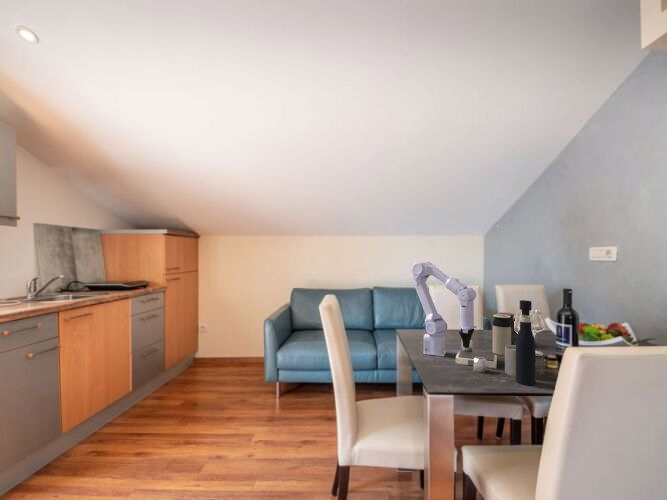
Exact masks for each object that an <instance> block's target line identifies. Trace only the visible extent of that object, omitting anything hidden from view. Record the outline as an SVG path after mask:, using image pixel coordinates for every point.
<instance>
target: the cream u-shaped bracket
mask: <svg viewBox="0 0 667 500" xmlns="http://www.w3.org/2000/svg"><path fill="white" fill-rule="evenodd" d="M474 357H483V358H486V368H488V369H497V361H498V360H497V359H498V354H495V353H487V352H486V353H485V352H478V351H473V352H472V353H466V352H462V351H461V350H458V351H457V353H456V356H455V364H459V365H464V366H465V365H466V366H467V365H468V366H473V367H474Z"/></svg>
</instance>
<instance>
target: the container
mask: <svg viewBox="0 0 667 500" xmlns="http://www.w3.org/2000/svg"><path fill="white" fill-rule="evenodd" d="M497 314H502V315H509V316H511V317H510V322H511V345H516V339H517V335H518V334H517V333H516V332H515V331H514V321H515V318H516V317H515V313H513V312H505V311H504V312H503V311H502V312H498V313H497Z"/></svg>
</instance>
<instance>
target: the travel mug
mask: <svg viewBox="0 0 667 500" xmlns="http://www.w3.org/2000/svg"><path fill="white" fill-rule="evenodd" d="M492 316H493V320H492V354H494V355H497V356H505V346H507V345H511V322H510V317H511V316H509V315H502V314H498V313H497V314H493V315H492Z"/></svg>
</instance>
